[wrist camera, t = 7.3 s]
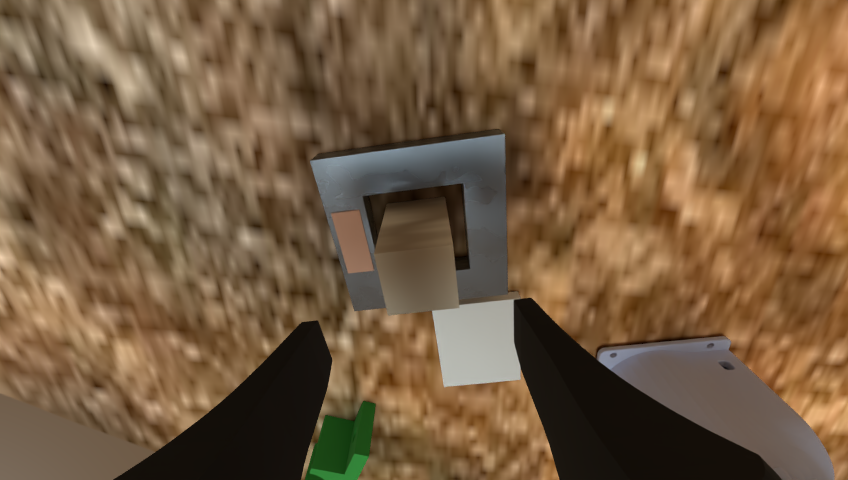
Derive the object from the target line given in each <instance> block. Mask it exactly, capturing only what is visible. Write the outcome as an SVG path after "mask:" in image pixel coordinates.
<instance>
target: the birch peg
mask: <svg viewBox="0 0 848 480" xmlns="http://www.w3.org/2000/svg"><path fill="white" fill-rule="evenodd" d="M374 257H375V261H376V266H377V270H378V274H379V278H380V283H381V287H382V291H383V296H384V300H385V304H386V309H387V313H388V315H397V314H406V313H416V312H426V311H435V310H445V309H455V308H459V298H458V288H457V278H456V268H455V258H454V248H453V241H452V235H451V229H450V223H449V218H448V212H447V206H446V200H445V197H437V198H429V199H421V200H413V201H405V202H396V203H388V204H387V205H386V209H385V213H384V217H383V221H382V224H381V228H380V232H379V236H378V240H377V244H376V248H375V251H374Z"/></svg>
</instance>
